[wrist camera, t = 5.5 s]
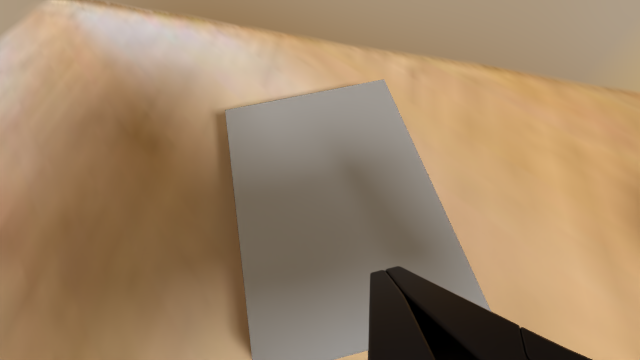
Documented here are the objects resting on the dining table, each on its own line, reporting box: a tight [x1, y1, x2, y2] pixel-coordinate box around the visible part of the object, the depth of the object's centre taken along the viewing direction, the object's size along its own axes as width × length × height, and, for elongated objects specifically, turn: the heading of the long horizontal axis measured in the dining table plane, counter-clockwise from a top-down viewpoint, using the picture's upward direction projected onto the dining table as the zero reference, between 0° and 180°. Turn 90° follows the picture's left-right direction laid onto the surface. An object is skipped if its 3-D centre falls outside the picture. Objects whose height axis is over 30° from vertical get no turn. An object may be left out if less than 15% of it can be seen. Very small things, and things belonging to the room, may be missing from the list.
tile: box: [225, 80, 491, 360], centre depth 17 cm, size 3×10×14 cm
